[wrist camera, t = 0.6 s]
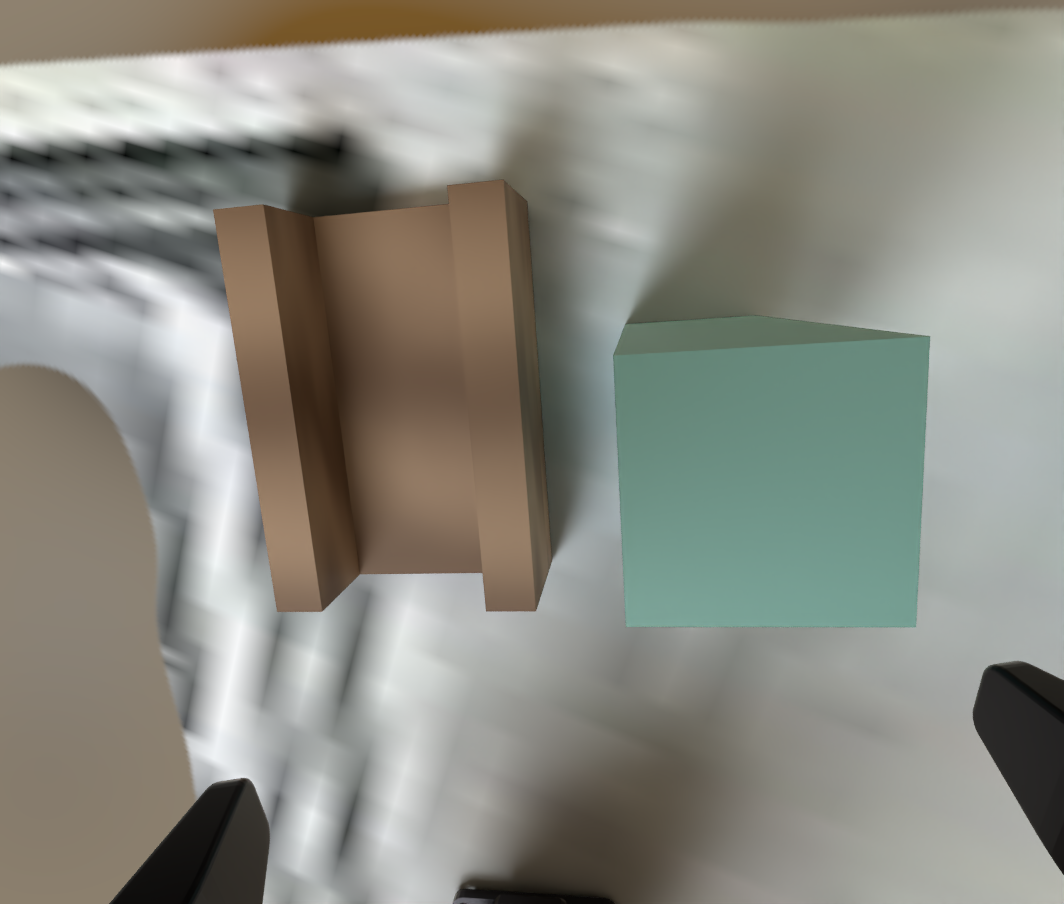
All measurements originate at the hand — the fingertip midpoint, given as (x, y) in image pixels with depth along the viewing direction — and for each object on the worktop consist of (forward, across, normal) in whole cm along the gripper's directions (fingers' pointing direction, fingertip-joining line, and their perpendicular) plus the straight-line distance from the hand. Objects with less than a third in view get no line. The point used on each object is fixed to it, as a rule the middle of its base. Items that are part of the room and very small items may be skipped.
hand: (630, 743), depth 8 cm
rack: (+16, +3, +1) cm, 17 cm away
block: (+14, -5, +1) cm, 15 cm away
